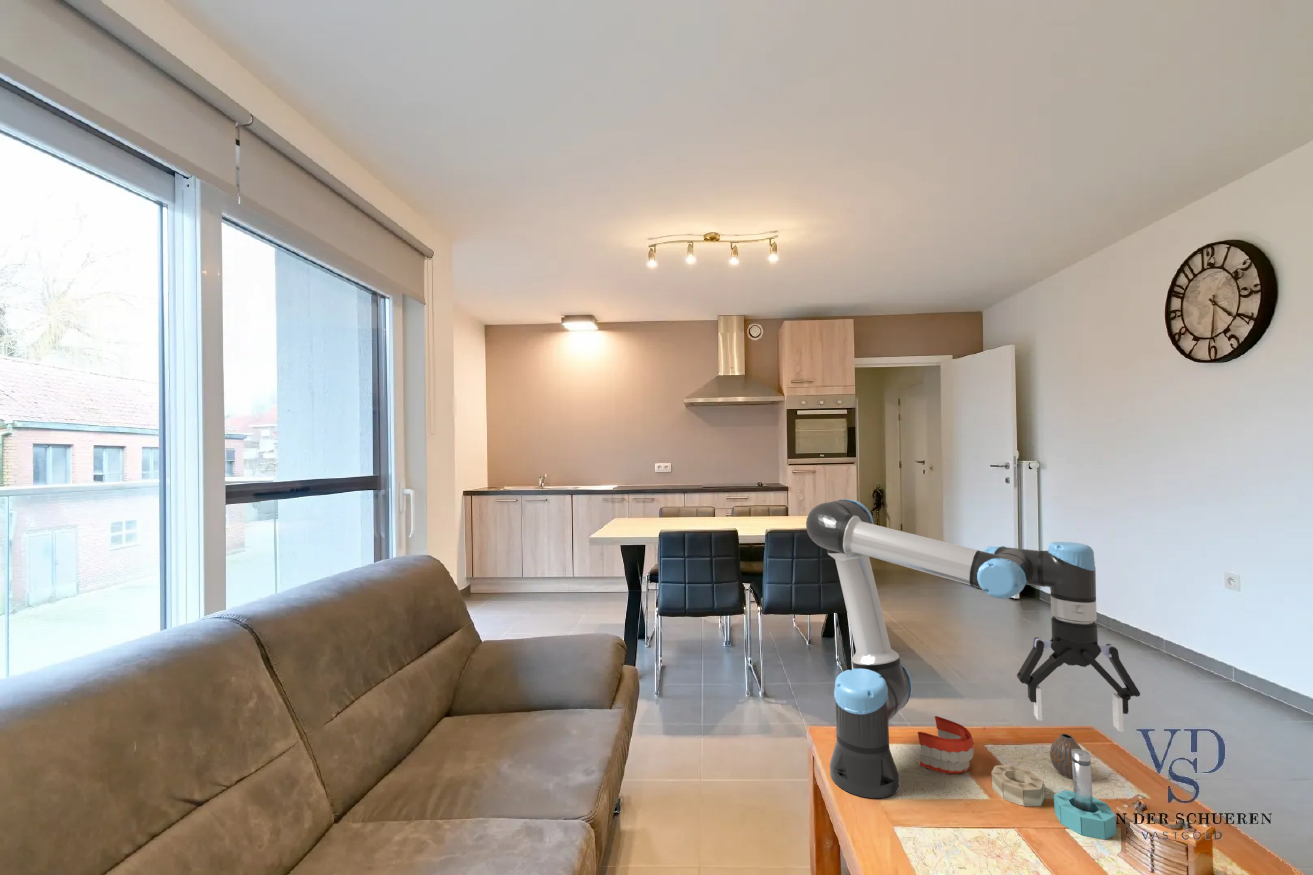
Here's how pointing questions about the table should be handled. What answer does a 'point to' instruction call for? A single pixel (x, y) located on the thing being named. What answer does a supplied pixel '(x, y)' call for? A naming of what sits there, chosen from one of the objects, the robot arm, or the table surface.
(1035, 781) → the bead birch
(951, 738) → the toy
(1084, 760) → the capped vial
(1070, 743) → the vase
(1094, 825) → the bead teal
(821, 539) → the robot arm
